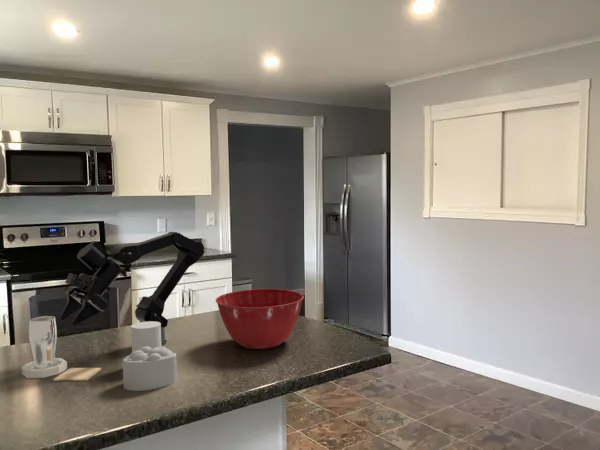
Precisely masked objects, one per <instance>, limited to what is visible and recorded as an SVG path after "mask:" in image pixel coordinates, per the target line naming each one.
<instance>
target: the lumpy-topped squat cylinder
mask: <svg viewBox="0 0 600 450" xmlns="http://www.w3.org/2000/svg"><path fill="white" fill-rule="evenodd" d="M177 362H178V361H177V353H175V352H173V351H171V350H170V349H169V348H167V347H165V346H164V345H163V346H159V347H156V348H153V349H151V348H150V347H148V346H145V347H142V348H141V349H139V350H136V351H134V352H132V351H131V353H130V354H129V355H127V356H125V357H124V358H123V359H122V377H123V380H122V381H123V389H125V390H127V391H136V392H137V391H150V390H154V389H155V390H156V389H161V388H164V387H168V386H171V385H174V384H176V383H177V382H178V363H177Z"/></svg>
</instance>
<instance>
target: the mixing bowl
mask: <svg viewBox="0 0 600 450" xmlns="http://www.w3.org/2000/svg"><path fill="white" fill-rule="evenodd" d="M304 298H305V297H304V294H302V293H301V292H298V291H295V290H289V289H283V288H282V289H280V288H254V289H253V288H252V289H244V290H243V289H242V290H238V291H237V290H236V291H231V292H227V293H224V294H221V295H219V296H218V297H216V299H215V302H216V305H217V308H218V311H219V314H220V317H221V319H222V322H223V324H224V327H225V328H226V330H227V332H228V335H230V337H231V339H232V340H233V341H234V342H235V343H237V344H238V345H240V346H241V347H243V348H245V349H251V350H266V349H272V348H276V347H278V346H280V345H282V343H284V342H286V341H287V339H289V337H290V336H291V334H292V332H293V330H294V328H295V326H296V323H297V321H298V317H299V315H300V311H301V307H302V303H303V299H304Z"/></svg>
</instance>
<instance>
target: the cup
mask: <svg viewBox="0 0 600 450" xmlns="http://www.w3.org/2000/svg"><path fill="white" fill-rule="evenodd" d="M130 329H131V330H130V335H131V353H132V352H134V351H136V350H139V349H141V348H142V347H145V346H148V347H150V348H151V349H153V348H156V347H159V346H162V344H161V323H160V322H154V321H148V322H140V321H139V322H136V323H133V324H132V325H131V326H130Z"/></svg>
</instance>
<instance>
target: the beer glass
mask: <svg viewBox="0 0 600 450" xmlns="http://www.w3.org/2000/svg"><path fill="white" fill-rule="evenodd" d="M28 321H29V322H28V339H29V344H30V349H31V352H32V356H33V361H34V367H33V369H47V368H51V367H55V366H56V363H55V358H56V355H55V354H56V347H57V339H58V336H57V335H58V330H57V323H56V316H51V315H49V316H48V315H43V316H42V315H41V316H38V317H37V316H36V317H33V318H30V319H29V320H28Z"/></svg>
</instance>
